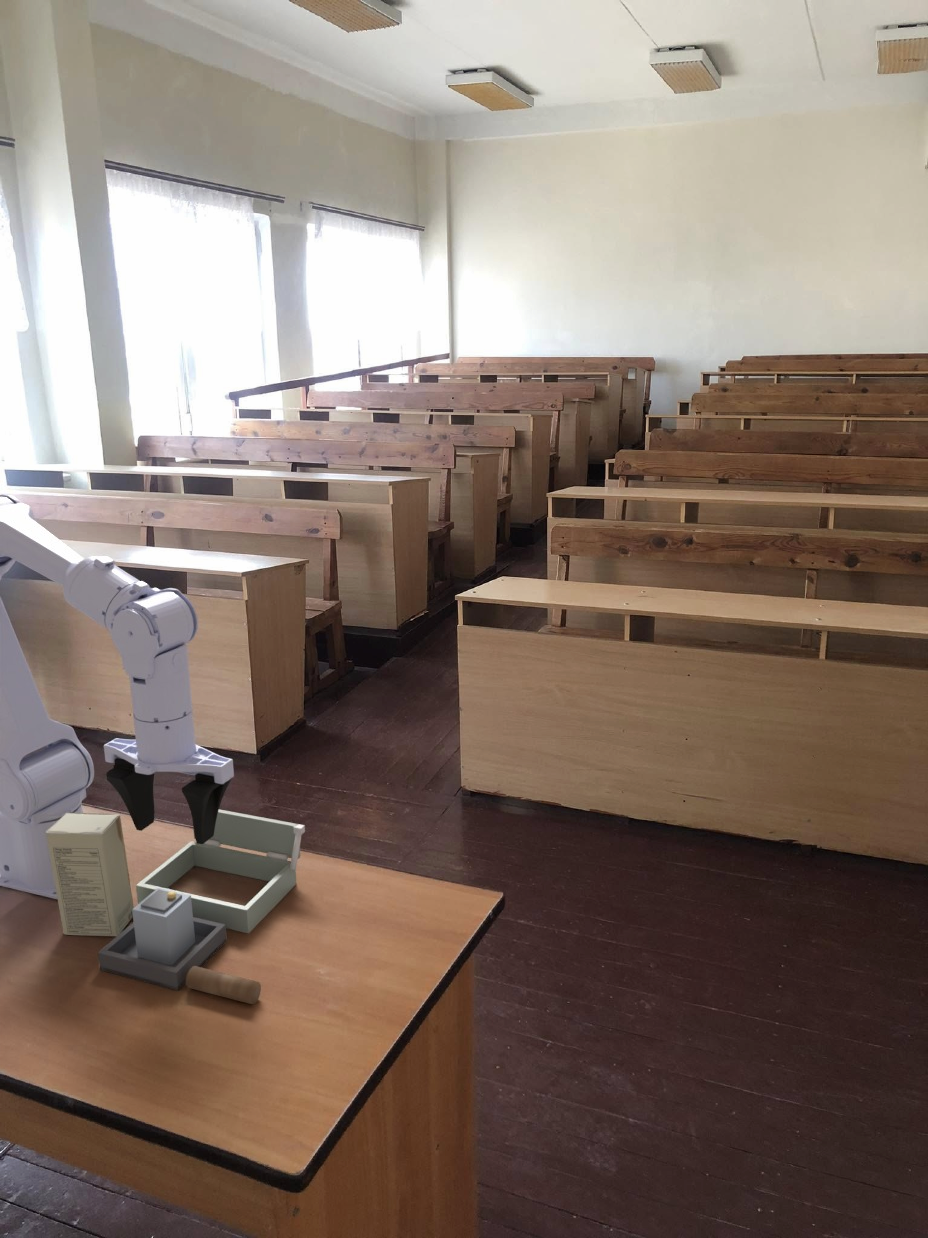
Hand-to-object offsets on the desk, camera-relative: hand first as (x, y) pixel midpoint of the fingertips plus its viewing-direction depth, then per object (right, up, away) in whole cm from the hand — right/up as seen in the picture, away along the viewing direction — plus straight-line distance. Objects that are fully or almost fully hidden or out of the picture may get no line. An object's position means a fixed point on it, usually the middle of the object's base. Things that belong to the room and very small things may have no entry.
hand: (174, 832), depth 98 cm
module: (0, -11, -3) cm, 12 cm away
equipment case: (+3, -9, +7) cm, 12 cm away
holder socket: (0, -12, -3) cm, 12 cm away
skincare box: (-9, -10, +2) cm, 14 cm away
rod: (+7, -13, -9) cm, 18 cm away
